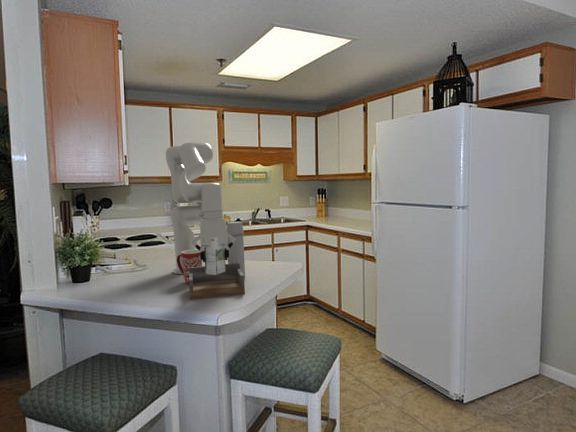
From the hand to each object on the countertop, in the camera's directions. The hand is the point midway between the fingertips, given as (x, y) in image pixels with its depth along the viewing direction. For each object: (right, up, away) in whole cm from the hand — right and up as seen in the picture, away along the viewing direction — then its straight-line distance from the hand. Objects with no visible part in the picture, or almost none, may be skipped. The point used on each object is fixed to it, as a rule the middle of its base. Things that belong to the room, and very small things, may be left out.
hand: (215, 260), depth 151 cm
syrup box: (0, -5, 0) cm, 5 cm away
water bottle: (+6, -11, +19) cm, 23 cm away
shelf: (0, -12, +1) cm, 12 cm away
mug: (-14, -11, +18) cm, 26 cm away
